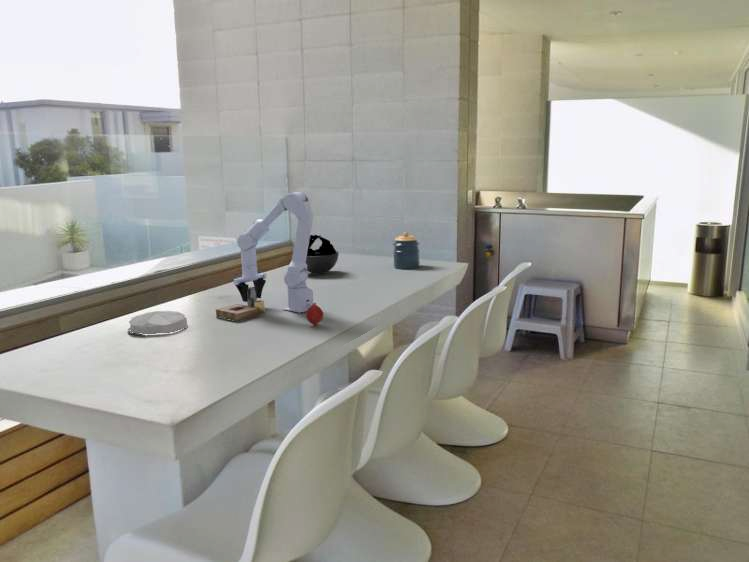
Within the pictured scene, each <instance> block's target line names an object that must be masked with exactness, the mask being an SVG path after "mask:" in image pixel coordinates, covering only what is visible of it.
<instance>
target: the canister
mask: <svg viewBox="0 0 749 562" xmlns="http://www.w3.org/2000/svg"><path fill="white" fill-rule="evenodd" d="M394 240H395V241H394V242H393V243H392V245H393V246H394V247H393V248H394V249H393V267H394V268H395V269H398V270H399V269H401V270H412V269H418V268H419V267H420V249H419V245H420V242H419V241H418V237H415V235H411V234H409V232H408V231H405V232H403V235H399V236H397V237H395V238H394Z"/></svg>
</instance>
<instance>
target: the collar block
mask: <svg viewBox="0 0 749 562" xmlns="http://www.w3.org/2000/svg"><path fill="white" fill-rule="evenodd" d="M215 315H216V316H215V317H216V318H217V317H221V318H220V319H222V318H225V319H224V320H226V319H230V320H229V321H231V320H234V321H233V322H235V321H239V322H242V321H241V320H243V321H245V320H244V319H246V320H249V318H250V319H252V317H253V318H256V317H255V316H257V317H259V316H260V314H259V309H258V308H256V307H251V306H248V305H247V304H246V305H245V304H241V303H237V304H231V305H228V306H224V307H221V308H216V309H215Z"/></svg>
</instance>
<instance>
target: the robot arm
mask: <svg viewBox="0 0 749 562" xmlns="http://www.w3.org/2000/svg"><path fill="white" fill-rule="evenodd" d="M287 211H289V213H292V214H293V215H294V216H295V218H297V220H298V221H297V225H296V226H297V227H296V232H295V238H294V244H293V245H294V246H293V248H292V249H293V250H292V256H291V261H290V263H289V265H288V267H287V271H286V273H285V274H284V276H283V281H284V284H285V285H286V289H287V291H286V292H287V306H288V307H283V310H285V311H288V312H295V313H300V314H301V312H302V313H305V312H307V310H308V308H309V307H310V306H312V305H313V303H314V292H313V289H311V288H309V287H308V286H307V279H308V277H309V272H308V271H307V264H306V257H307V251H308V245H309V239H310V235H312V234H311V233H312V227H313V221H314V213H313V210H312V208H311V205H310V198H309V197H308V196H307V194H305V193H304V192H303V191H295V192H288V193H286V194H285V195H284V196H283V197H281V198H280V199H279V200H278V201H277V202H276V204H275V205H274V206H273V207H272V208H271V209H270V210H269V212H267V213H266V215H265V216H264V217H263V218H262V219H260V218H259V219H257V220H254V221H253V222H252V225H251V226H250V227H249V228H248V229H245V231H244V232H245V233H244V234H242V233H241V234H240V235H239V236H238V238H237V240H236V242H237V243H236V244H237V246H238V247H239V249H240V259H241V260H240V262H241V272H242V273H241V276H240V277H236V278H234V279H233V285H235V288H236V289H237V290H238V292H239V294H240V297H241V300H242V302H244V303H247V302H248V287H250V286H249V284H247V283H249V282H252V283H253V287H256V297H257V299H262V293H263V289H264V286H265V284H266V281H267V280H266V279H267V278H268V277H267V273H265V272H261V273H258V261H257V246H258V243H259V242H260V241H261V239H262V238H263V237H264V236H265V235H266V234H267V233H268V232H269V231H270V225H272V223H273V222H274V221H276V220H277V219H278V218H279V216H281V215H282V214H283V213H285V212H287Z"/></svg>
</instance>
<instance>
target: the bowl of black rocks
mask: <svg viewBox="0 0 749 562" xmlns="http://www.w3.org/2000/svg"><path fill="white" fill-rule="evenodd" d="M318 239H319V240H320V241H321V244H320V246H319V247H318V248H317V249H312V245H314V243H315V241H316V240H318ZM339 254H340V253H339V251H338V250H336V249H335V247H334V245H333V243H331V240H329V239H327V238H325V237H322V235H318V234H314V235H313V234H310V239H309V245H308V251H307V257H306V264H307V272H308V273H311V274H314V275H322V274H324V273H327V272H329V271H331V270H332V269H333V268H334V267H335V265H336V264H337V262H338V260H339Z"/></svg>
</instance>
